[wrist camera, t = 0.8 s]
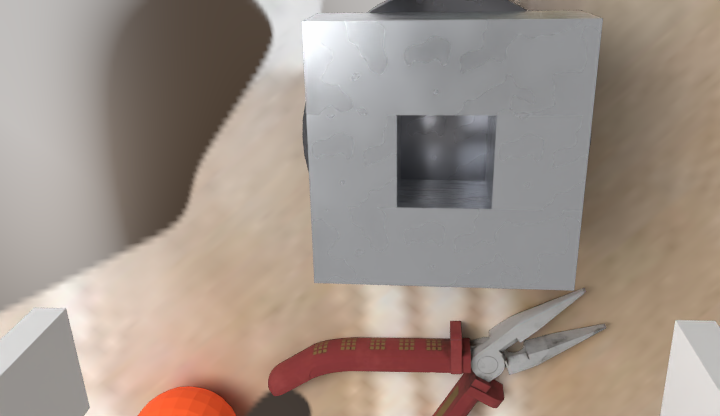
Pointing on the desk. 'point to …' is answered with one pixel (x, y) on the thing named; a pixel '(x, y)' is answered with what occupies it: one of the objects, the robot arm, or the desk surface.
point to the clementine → (187, 403)
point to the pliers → (443, 356)
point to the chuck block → (448, 143)
